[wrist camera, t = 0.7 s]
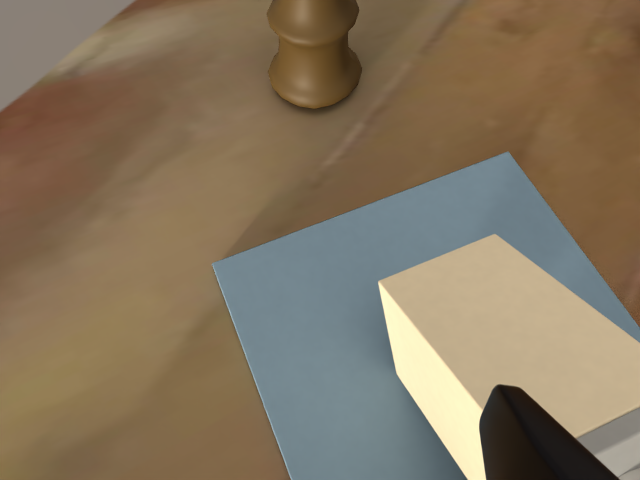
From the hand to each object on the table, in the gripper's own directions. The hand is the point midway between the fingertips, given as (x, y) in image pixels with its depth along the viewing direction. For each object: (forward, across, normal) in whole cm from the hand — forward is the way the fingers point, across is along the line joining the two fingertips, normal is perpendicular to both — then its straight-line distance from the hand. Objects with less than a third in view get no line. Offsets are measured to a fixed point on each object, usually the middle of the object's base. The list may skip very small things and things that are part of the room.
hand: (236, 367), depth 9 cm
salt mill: (+8, -10, +9) cm, 16 cm away
